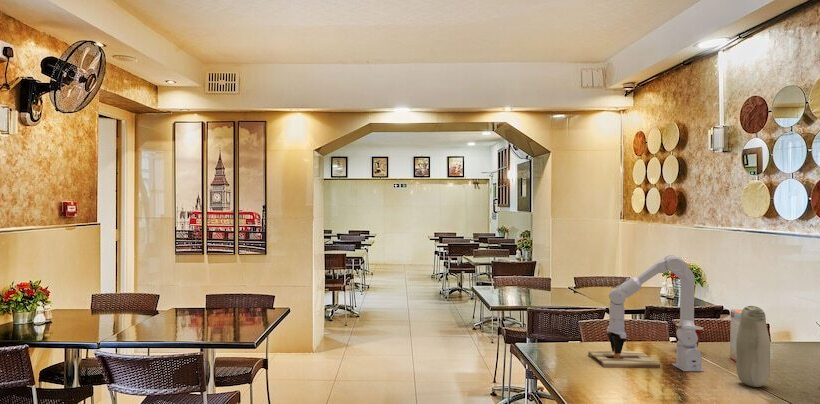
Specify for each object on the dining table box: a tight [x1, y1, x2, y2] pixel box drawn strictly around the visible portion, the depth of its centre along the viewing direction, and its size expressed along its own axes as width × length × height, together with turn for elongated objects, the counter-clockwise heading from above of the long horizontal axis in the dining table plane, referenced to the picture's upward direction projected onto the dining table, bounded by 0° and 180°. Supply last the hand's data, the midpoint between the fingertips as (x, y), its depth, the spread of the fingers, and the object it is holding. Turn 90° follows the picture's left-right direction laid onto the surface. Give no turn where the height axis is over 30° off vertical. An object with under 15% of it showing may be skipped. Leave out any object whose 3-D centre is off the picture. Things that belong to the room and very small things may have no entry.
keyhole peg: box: [611, 350, 621, 359], centre depth 225 cm, size 5×5×9 cm
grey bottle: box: [735, 305, 771, 388], centre depth 196 cm, size 10×10×28 cm
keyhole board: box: [587, 350, 661, 369], centre depth 225 cm, size 18×22×2 cm
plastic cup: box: [675, 322, 704, 348], centre depth 242 cm, size 11×11×12 cm
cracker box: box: [729, 308, 743, 363], centre depth 226 cm, size 14×6×21 cm, turn 168°
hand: (616, 352), depth 225 cm, fingers closed on keyhole peg, 2 cm apart
